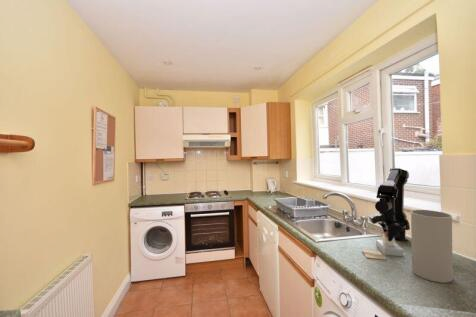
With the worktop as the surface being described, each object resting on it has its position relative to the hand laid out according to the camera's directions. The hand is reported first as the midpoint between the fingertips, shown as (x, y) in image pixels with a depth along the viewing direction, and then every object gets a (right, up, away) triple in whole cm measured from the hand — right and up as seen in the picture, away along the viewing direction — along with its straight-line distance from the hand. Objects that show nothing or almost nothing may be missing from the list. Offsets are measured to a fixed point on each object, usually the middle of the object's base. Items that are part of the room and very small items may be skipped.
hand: (388, 239), depth 116 cm
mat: (-11, -6, -5) cm, 13 cm away
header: (0, -6, 0) cm, 6 cm away
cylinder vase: (+1, -6, -24) cm, 25 cm away
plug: (0, -5, 0) cm, 5 cm away
